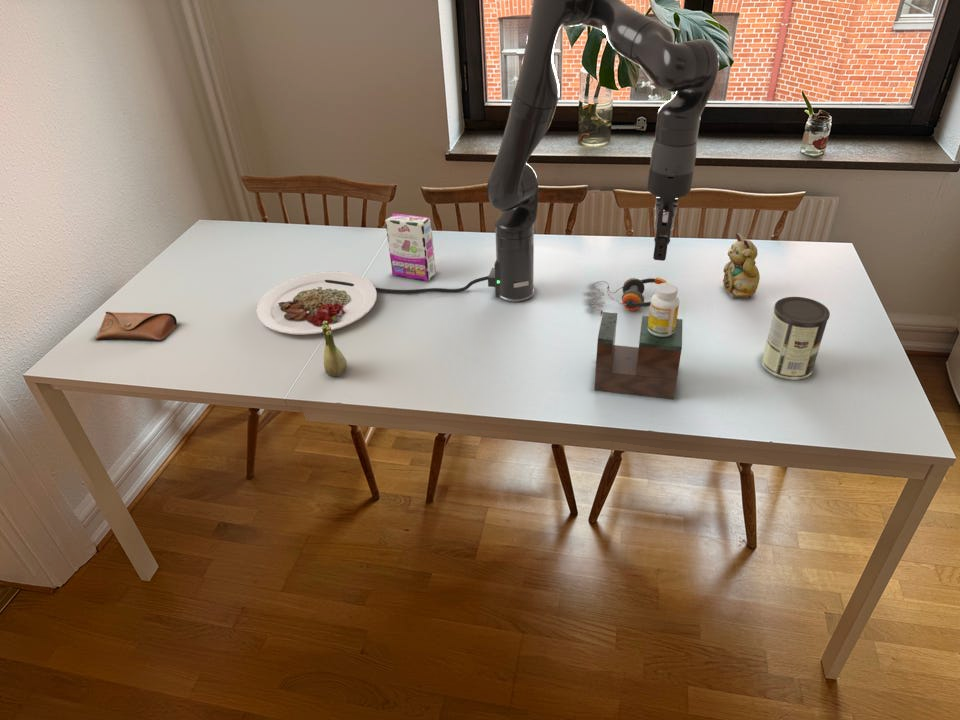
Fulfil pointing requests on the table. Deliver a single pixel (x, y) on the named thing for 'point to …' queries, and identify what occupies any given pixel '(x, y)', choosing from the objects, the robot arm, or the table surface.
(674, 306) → the supplement bottle
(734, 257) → the decorative figurine
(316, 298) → the plated food
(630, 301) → the headphones
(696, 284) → the table surface
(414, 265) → the candy bar box
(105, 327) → the sunglasses case
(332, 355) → the fennel bulb
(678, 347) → the notched wooden block
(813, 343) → the coffee can
